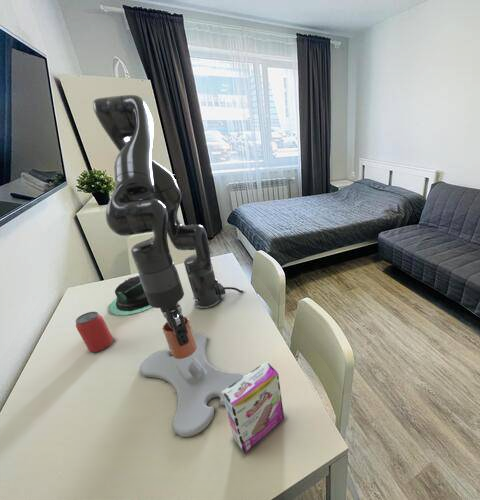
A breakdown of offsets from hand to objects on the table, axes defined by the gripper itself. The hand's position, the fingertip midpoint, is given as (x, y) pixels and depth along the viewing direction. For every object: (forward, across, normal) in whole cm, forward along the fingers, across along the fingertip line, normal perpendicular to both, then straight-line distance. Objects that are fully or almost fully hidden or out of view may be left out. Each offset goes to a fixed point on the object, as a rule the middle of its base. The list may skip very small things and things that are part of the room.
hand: (180, 337), depth 71 cm
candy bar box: (+16, -26, -7) cm, 31 cm away
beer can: (+16, +35, +19) cm, 43 cm away
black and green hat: (+15, +57, +5) cm, 59 cm away
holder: (+16, 0, 0) cm, 16 cm away
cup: (+5, 0, 0) cm, 5 cm away
